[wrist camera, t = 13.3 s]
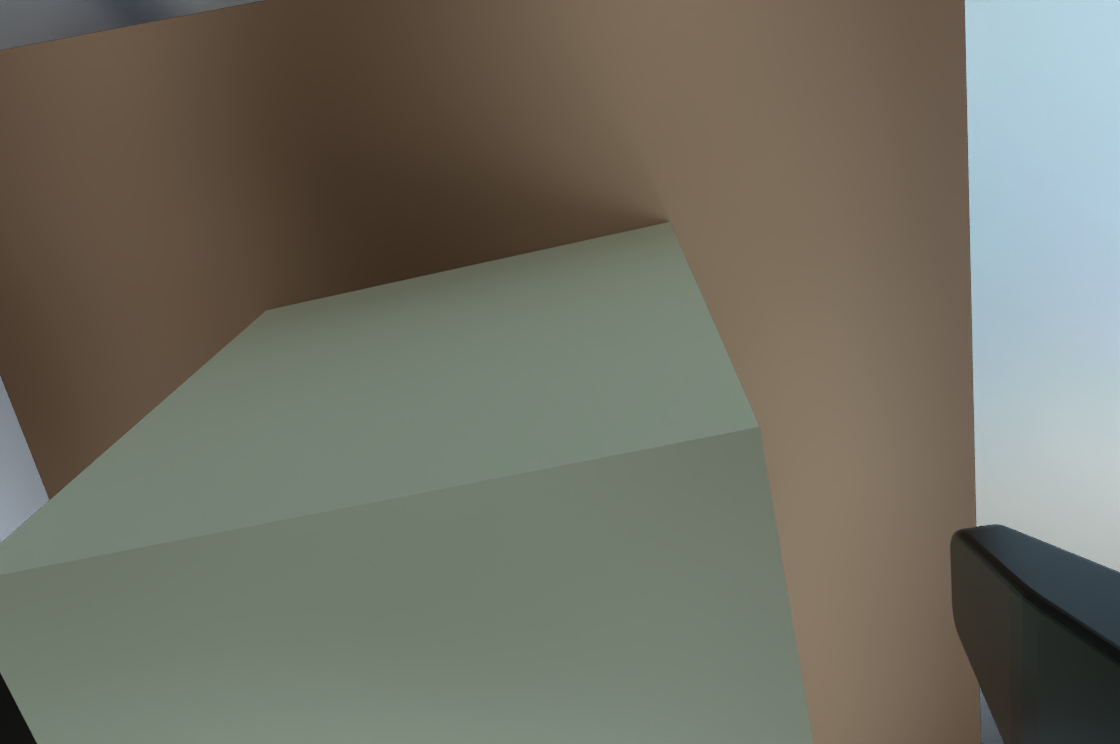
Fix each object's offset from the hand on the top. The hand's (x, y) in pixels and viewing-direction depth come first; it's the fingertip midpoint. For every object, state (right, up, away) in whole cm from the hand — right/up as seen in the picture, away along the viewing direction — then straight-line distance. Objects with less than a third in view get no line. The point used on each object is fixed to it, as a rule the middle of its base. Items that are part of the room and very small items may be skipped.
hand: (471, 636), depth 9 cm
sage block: (0, +1, +3) cm, 4 cm away
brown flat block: (0, +3, +7) cm, 8 cm away
